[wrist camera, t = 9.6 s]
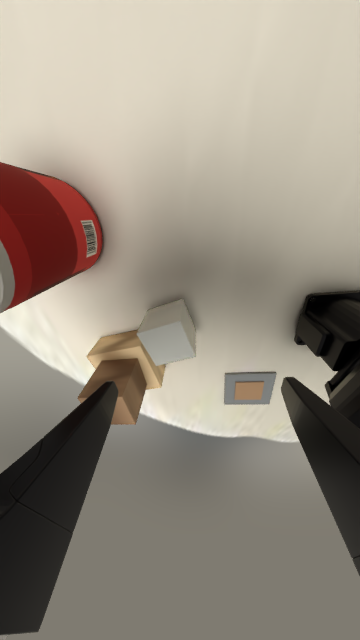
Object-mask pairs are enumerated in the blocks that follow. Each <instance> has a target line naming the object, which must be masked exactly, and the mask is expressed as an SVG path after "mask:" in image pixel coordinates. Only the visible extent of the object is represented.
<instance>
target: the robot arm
mask: <svg viewBox="0 0 360 640" xmlns="http://www.w3.org/2000/svg"><path fill="white" fill-rule="evenodd" d="M312 298H313V300H311V299H312ZM310 300H311V301H310ZM300 340H301V341H300ZM295 342H296V344H298V345H307V346H308V347H309V348H310V350H311V351H312V352H313V353H314V354H315V355H316V356H317V357H321V358H322V359H323V360H324V361H325V362H326V363H327V365H328V366H329V367H330V368H331V369H332V370H333V371H338V372H337V373H336V374H335V376H334V377H333V378H332V379H331V380H330V381H328V382H327V383H326V384H325V388H326V391H327V394H328V396H329V402H330V405H331V406H330V405H329V404H327V403H326V402H325V401H324V400H322V399H321V398H320V397H319V396H317V395H316V394H315V393H313V392H312V391H311V390H310V389H308V388H307V387H306V386H304V385H303V384H302V383H301V382H299V381H298V380H297V379H295V378H294V377H285V378H284V379H283V383H282V387H281V392H282V395H283V398H284V401H285V404H286V407H287V410H288V413H289V416H290V419H291V422H292V425H293V427H294V430H295V432H296V434H297V436H298V439H299V441H300V443H301V445H302V447H303V450H304V452H305V454H306V456H307V459H308V461H309V463H310V465H311V468H312V470H313V472H314V474H315V477H316V479H317V481H318V483H319V486H320V488H321V490H322V492H323V494H324V497H325V499H326V501H327V503H328V505H329V508H330V510H331V512H332V515H333V517H334V519H335V521H336V524H337V526H338V528H339V530H340V533H341V535H342V537H343V539H344V541H345V544H346V546H347V548H348V551H349V553H350V555H351V557H352V558H353V562H354V564H355V567H356V569H357V571H358V573H359V575H360V291H348V292H334V293H320V294H310V295H308V296H307V297H306V300H305V304H304V307H303V311H302V314H301V315H300V319H299V322H298V326H297V330H296V337H295ZM117 398H118V388H117V386H116V384H115V382H114V381H106V382H105V383H103V384H102V385H101V386H100V387H99V388H98V389H97V390H96V391H94V392H93V393H92V394H91V395H90V396H89V397H88V398H87V399H86V400H84V401H83V402H82V403H81V404H80V405H79V406H78V407H77V408H76V409H74V410H73V411H72V412H71V413H70V414H69V415H68V416H67V417H66V418H64V419H63V420H62V421H61V422H60V423H59V424H58V425H57V426H55V427H54V428H53V429H52V430H51V431H50V432H49V433H48V434H46V435H45V436H44V438H42V439H41V440H40V441H39V442H37V443H36V444H35V445H34V446H33V447H32V448H31V449H30V450H28V452H26V453H25V454H24V455H23V456H22V457H20V458H19V459H18V460H17V461H16V462H14V463H13V464H12V465H11V466H9V467H8V468H7V469H6V470H4V471H3V472H2V473H1V474H0V640H6V638H7V635H10V634H22V633H33V632H38V631H39V629H40V626H41V623H42V621H43V618H44V615H45V612H46V609H47V607H48V603H49V601H50V598H51V595H52V592H53V589H54V586H55V583H56V580H57V578H58V575H59V572H60V569H61V566H62V564H63V561H64V558H65V555H66V552H67V549H68V546H69V543H70V540H71V538H72V534H73V531H74V529H75V526H76V523H77V520H78V517H79V514H80V511H81V508H82V505H83V503H84V500H85V497H86V494H87V491H88V488H89V486H90V482H91V480H92V477H93V474H94V471H95V468H96V465H97V462H98V460H99V457H100V454H101V451H102V448H103V445H104V442H105V440H106V436H107V434H108V431H109V428H110V425H111V422H112V418H113V414H114V410H115V406H116V402H117Z"/></svg>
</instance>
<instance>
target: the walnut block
mask: <svg viewBox="0 0 360 640" xmlns="http://www.w3.org/2000/svg"><path fill="white" fill-rule="evenodd" d="M106 381H114V382H115V384H116V386H117V388H118V398H117V402H116V406H115V410H114V414H113V418H112V422H111V424H136V422H137V418H138V415H139V411H140V408H141V404H142V401H143V397H144V394H145V390H146V387H147V383H146V380H145V377H144V374H143V372H142V369H141V366H140V363H139V361H138V358H134V359H118V360H102V361H101V362H100V364H99V365H98V367H97V369H96V370H95V372H94V373H93V375H92V376H91V378H90V379H89V381H88V382H87V384H86V386H85V387H84V389H83V390H82V392H81V393H80V395H79V396H78V400H79V401H80V402H81V403H82V402H83V401H84V400H86V399H87V398H88V397H89V396H90V395H91V394H92V393H93V392H94V391H96V390H97V389H98V388H99V387H100V386H101V385H102V384H103V383H105V382H106Z"/></svg>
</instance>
